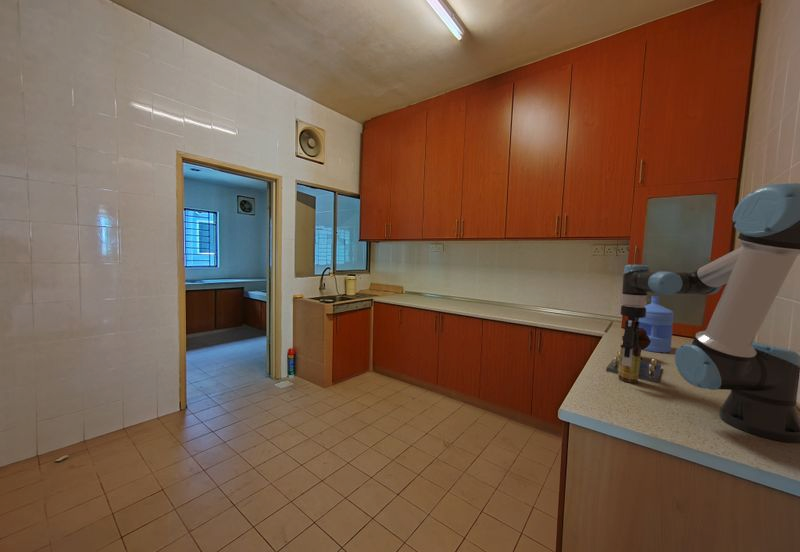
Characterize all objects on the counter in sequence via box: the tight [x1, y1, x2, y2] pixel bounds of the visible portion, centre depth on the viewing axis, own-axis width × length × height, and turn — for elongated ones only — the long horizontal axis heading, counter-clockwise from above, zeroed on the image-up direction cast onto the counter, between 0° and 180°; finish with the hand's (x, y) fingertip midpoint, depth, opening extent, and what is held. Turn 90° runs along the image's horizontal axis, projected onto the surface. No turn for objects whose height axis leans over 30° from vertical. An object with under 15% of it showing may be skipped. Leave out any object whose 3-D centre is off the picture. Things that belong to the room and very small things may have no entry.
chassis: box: [605, 351, 662, 384], centre depth 129 cm, size 22×16×5 cm
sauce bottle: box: [617, 329, 642, 384], centre depth 116 cm, size 7×6×20 cm
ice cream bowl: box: [621, 327, 651, 361], centre depth 145 cm, size 11×11×15 cm
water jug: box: [638, 295, 675, 354], centre depth 162 cm, size 16×16×28 cm
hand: (629, 361), depth 116 cm, fingers open, 13 cm apart
